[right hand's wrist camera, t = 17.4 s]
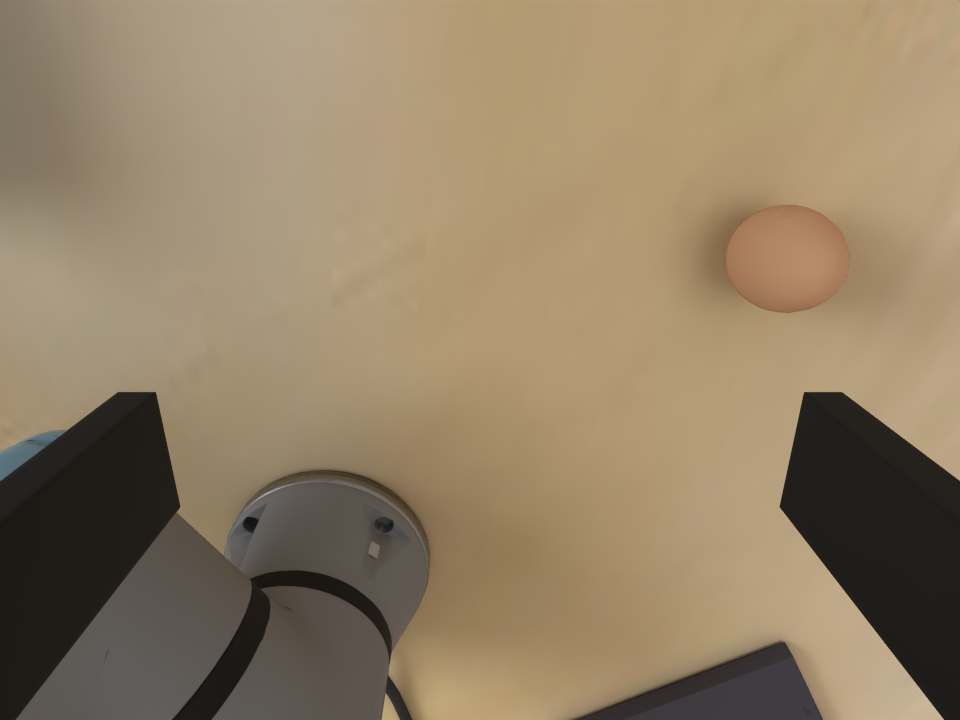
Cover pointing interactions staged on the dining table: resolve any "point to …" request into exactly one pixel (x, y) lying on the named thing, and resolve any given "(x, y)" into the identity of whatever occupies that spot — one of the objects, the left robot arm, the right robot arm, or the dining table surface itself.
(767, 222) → the egg
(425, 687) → the dining table surface
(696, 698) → the notebook
